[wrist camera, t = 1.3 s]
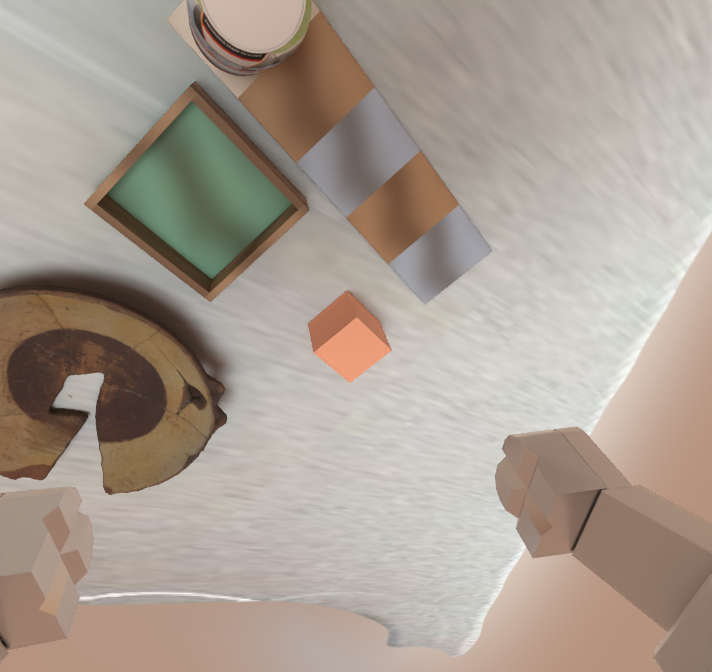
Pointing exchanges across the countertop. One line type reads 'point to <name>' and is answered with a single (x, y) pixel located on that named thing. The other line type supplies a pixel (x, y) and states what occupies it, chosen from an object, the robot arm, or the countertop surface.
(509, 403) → the countertop surface
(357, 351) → the cube
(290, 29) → the beverage can
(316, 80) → the board
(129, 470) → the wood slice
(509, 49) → the countertop surface
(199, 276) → the tray
